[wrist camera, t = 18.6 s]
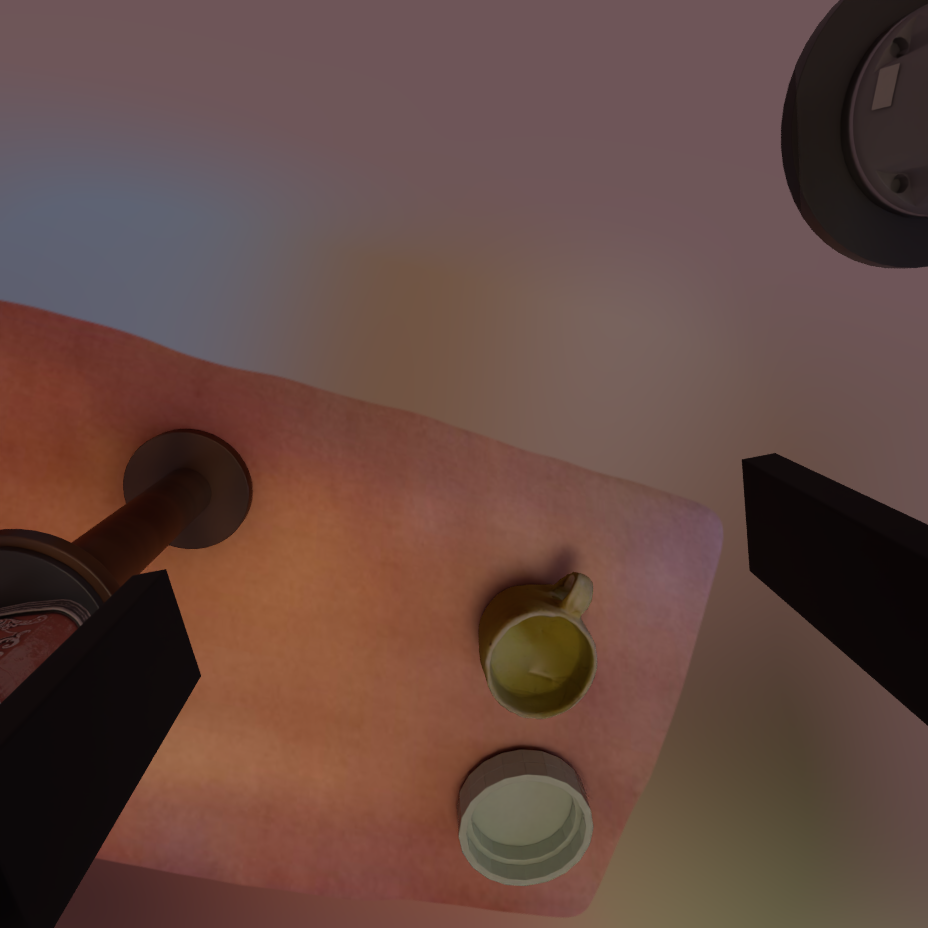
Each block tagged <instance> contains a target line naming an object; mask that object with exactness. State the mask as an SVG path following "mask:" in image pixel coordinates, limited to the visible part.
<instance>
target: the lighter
mask: <svg viewBox="0 0 928 928" xmlns="http://www.w3.org/2000/svg"><path fill="white" fill-rule="evenodd" d="M90 616H91V615H90V614H89V612H88V611H87V610H86V609H85V608H84V607H83V606H82V605H80V604H79V603H76V602H74V601H72V600H64V599H60V600H49V601H38V602H28V603H23V604H18V605H13V606H8V607H3V608H0V704H1V703H2V702H3V701H4V700H5V699H6V698H7V697H8V696H9V695H10V694H11V693H12V692H13V691H14V690H15V689H16V688H17V687H18V686H19V685H20V684H21V683H22V682H23V681H24V680H25V679H26V678H27V677H28V676H29V675H30V674H31V673H33V672H34V671H35V670H36V669H37V668H38V667H39V666H40V665H41V664H42V663H43V662H44V661H45V660H46V659H47V658H48V657H49V656H50V655H51V654H52V653H53V652H54V651H55V650H56V649H57V648H58V647H59V646H60V645H61V644H62V643H63V642H64V641H65V640H67V639H68V638H69V637H70V636H71V635H72V634H73V633H74V632H75V631H76V630H77V629H78V628H79V627H80V626H81V625H82V624H83V623H84V622H85V621H86V620H87V619H88V618H89V617H90Z"/></svg>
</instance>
